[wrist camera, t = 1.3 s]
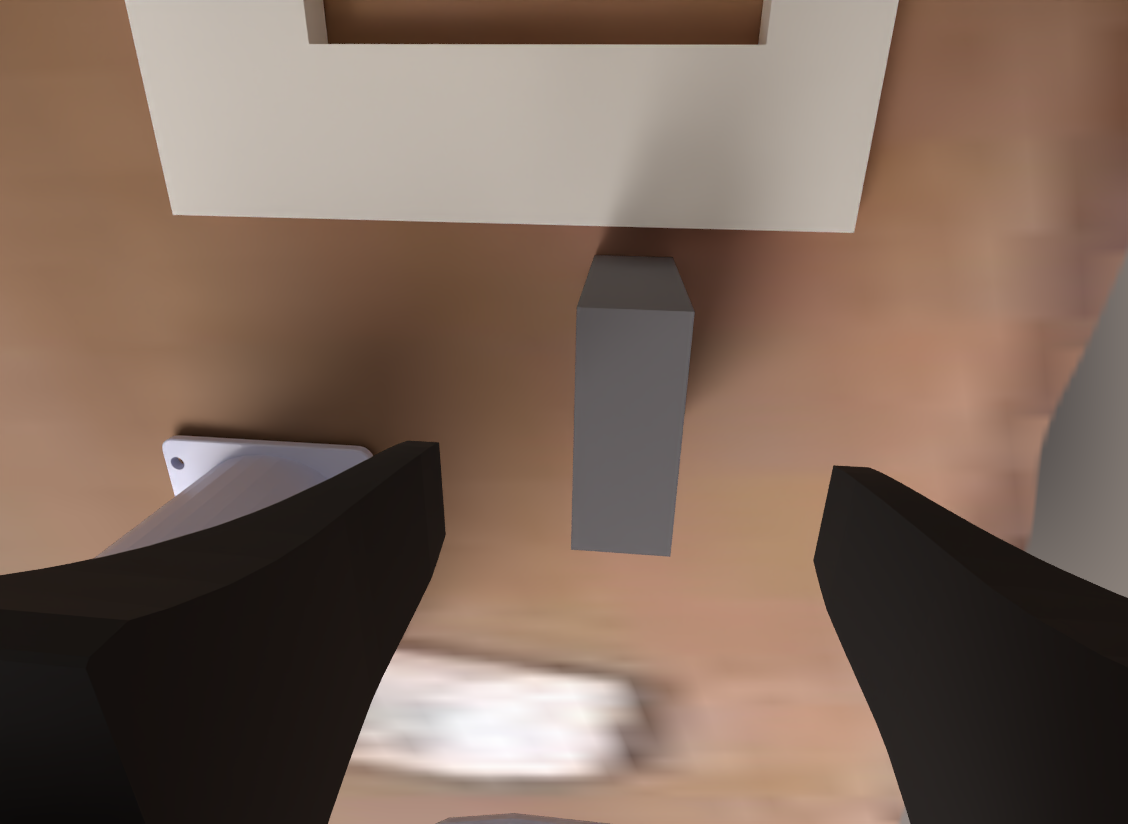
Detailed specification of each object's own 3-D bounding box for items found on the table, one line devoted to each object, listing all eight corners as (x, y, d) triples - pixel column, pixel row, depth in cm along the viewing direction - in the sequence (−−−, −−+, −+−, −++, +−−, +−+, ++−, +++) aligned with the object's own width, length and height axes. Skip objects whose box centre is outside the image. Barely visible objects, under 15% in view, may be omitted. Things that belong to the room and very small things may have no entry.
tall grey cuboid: (658, 434, 21) (670, 556, 15) (588, 430, 21) (571, 549, 15) (672, 257, 19) (694, 311, 12) (594, 255, 19) (576, 307, 13)
